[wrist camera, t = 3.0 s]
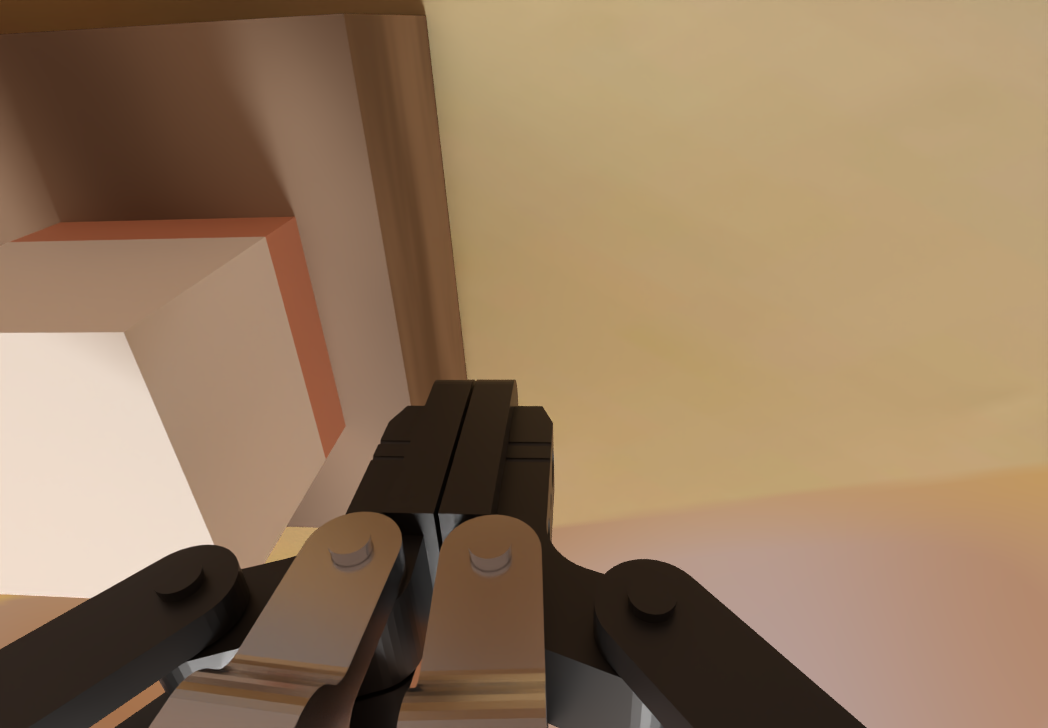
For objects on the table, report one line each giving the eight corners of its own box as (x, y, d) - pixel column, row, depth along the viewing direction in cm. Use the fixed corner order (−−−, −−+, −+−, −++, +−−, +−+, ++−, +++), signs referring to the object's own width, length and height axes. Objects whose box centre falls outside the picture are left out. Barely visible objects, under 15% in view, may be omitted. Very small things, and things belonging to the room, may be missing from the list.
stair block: (425, 15, 18) (343, 13, 12) (469, 406, 25) (432, 530, 19) (-365, 62, 21) (-757, 80, 15) (-127, 400, 28) (-326, 507, 22)
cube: (295, 216, 14) (123, 332, 9) (345, 426, 17) (239, 604, 12) (60, 222, 15) (-230, 333, 9) (149, 423, 18) (-34, 592, 12)
